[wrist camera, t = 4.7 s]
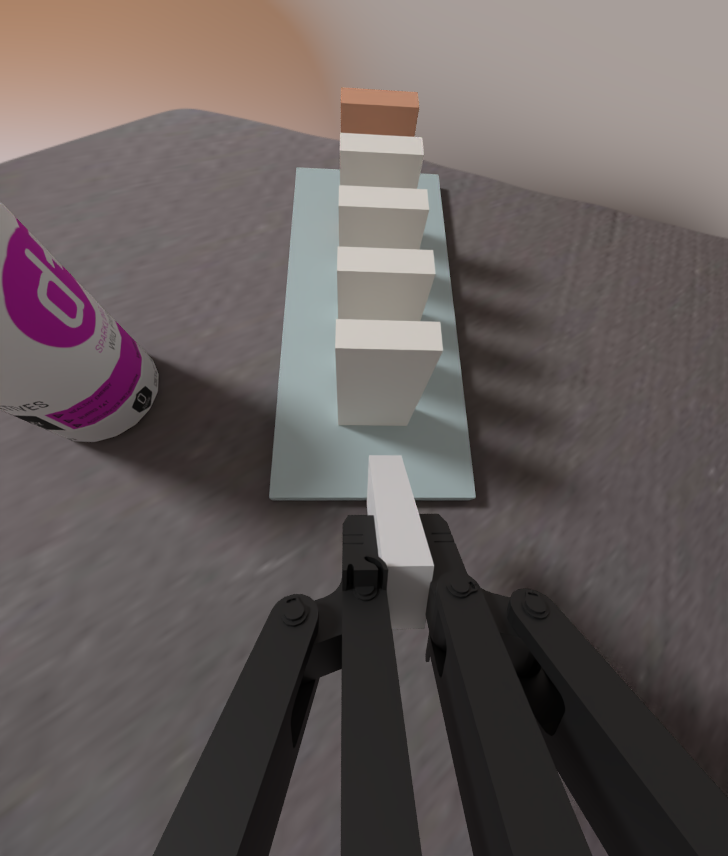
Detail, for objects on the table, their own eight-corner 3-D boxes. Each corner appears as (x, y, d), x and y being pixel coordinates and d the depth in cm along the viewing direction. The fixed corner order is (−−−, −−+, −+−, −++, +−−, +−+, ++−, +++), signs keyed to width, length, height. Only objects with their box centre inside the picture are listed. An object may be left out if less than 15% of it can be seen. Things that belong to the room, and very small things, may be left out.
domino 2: (341, 262, 31) (340, 132, 21) (398, 264, 31) (422, 137, 22) (341, 276, 30) (339, 150, 21) (399, 279, 30) (423, 155, 21)
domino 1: (341, 224, 32) (341, 87, 23) (396, 226, 33) (417, 92, 23) (341, 237, 32) (340, 102, 22) (397, 239, 32) (419, 107, 23)
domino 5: (338, 404, 26) (335, 319, 17) (405, 405, 26) (440, 321, 17) (338, 425, 26) (335, 348, 16) (406, 425, 26) (443, 350, 16)
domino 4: (339, 351, 28) (337, 246, 18) (403, 353, 28) (433, 249, 19) (339, 370, 27) (337, 270, 18) (404, 371, 27) (435, 274, 18)
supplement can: (164, 341, 28) (-10, 131, 14) (161, 437, 26) (-59, 293, 12) (56, 352, 28) (-241, 139, 14) (40, 452, 25) (-352, 316, 11)
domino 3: (340, 304, 29) (338, 185, 20) (400, 306, 29) (427, 189, 20) (340, 321, 29) (338, 205, 19) (401, 322, 29) (429, 209, 20)
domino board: (435, 186, 36) (438, 174, 35) (470, 500, 25) (475, 497, 24) (298, 179, 36) (296, 167, 35) (272, 500, 25) (269, 497, 24)
